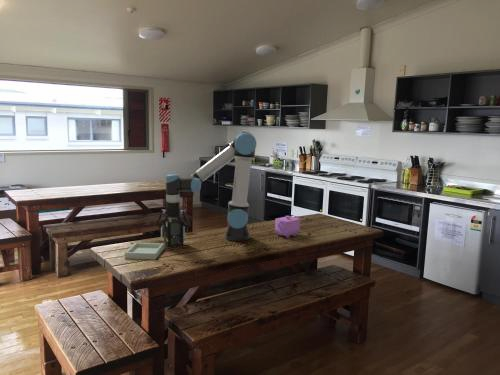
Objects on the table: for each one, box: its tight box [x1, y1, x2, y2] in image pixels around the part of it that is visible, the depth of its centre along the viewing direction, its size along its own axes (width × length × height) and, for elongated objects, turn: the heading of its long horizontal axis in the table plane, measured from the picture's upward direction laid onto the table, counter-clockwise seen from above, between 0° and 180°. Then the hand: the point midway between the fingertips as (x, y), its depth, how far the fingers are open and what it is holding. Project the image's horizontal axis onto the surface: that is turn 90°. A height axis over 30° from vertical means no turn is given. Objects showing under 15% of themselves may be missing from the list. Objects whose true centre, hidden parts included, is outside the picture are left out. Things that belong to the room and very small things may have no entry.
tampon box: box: [163, 217, 184, 248], centre depth 246 cm, size 11×9×15 cm
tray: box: [124, 242, 165, 260], centre depth 228 cm, size 16×18×3 cm
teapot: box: [274, 215, 301, 239], centre depth 268 cm, size 20×10×12 cm, turn 131°
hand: (173, 237), depth 246 cm, fingers open, 12 cm apart
